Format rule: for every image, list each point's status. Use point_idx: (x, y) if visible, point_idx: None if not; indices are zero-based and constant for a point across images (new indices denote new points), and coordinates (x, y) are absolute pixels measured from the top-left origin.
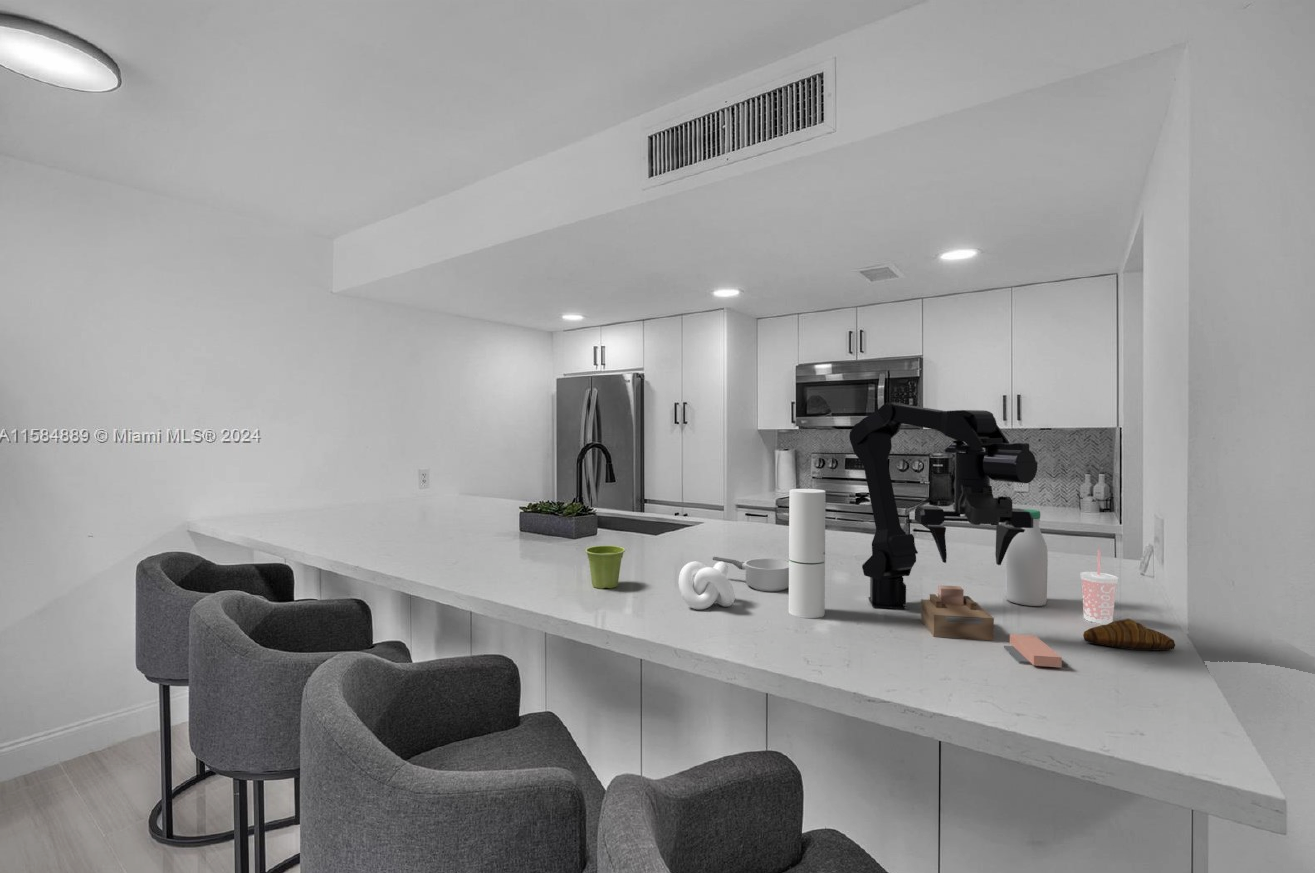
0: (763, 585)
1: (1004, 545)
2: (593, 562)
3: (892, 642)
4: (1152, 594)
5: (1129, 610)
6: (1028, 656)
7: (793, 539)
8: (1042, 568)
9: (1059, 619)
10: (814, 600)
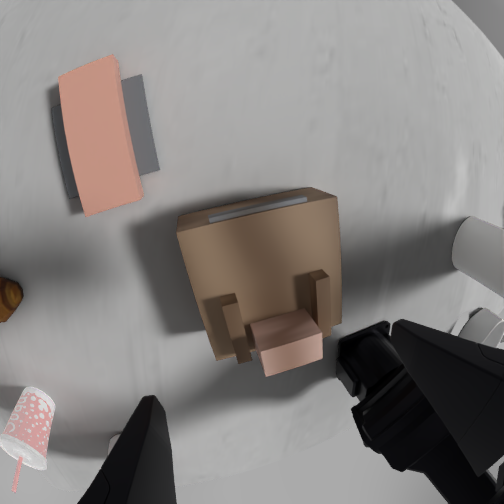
0: (485, 310)
1: (115, 482)
2: None
3: (385, 124)
4: (40, 470)
5: None
6: (119, 84)
7: None
8: None
9: (78, 394)
10: (485, 229)
